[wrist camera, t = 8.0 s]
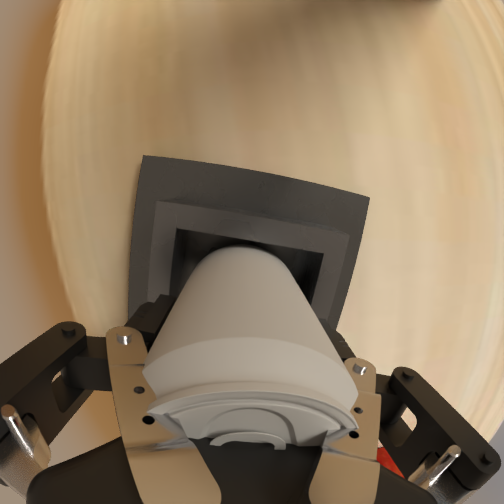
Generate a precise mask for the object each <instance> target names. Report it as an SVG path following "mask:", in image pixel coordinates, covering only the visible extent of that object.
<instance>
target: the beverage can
mask: <svg viewBox="0 0 504 504" xmlns="http://www.w3.org/2000/svg"><path fill="white" fill-rule="evenodd" d="M143 364H145V366H144V368H143V370H142V373H143V375H144V377H145V379H146V381H147V382H148V384H149V385H150V387H151V388H152V390H153V391H154V393H155V395H156V398H157V400H155V401H154V402H152V403H150V404H149V406H148V409H147V413H149V412H150V413H155V414H160V415H162V414H165V413H169V414H170V415H169V416H170V417H173V418H177V419H179V421H180V423H181V425H182V427H183V429H184V431H185V433H186V435H187V437H188V438H194V439H201V438H204V437H208V438H214V439H213V440H212V441H211V442H210V445H215V446H221V445H222V444H224V443H226V442H230V441H243V442H258V443H272V444H273V445H274V446H275V448H274V450H285V449H286V443H292V444H294V445H296V446H320V443H321V441H322V440H323V438H324V436H325V434H326V433H327V431H328V430H335V429H340V426H345V428H359V427H358V424H357V422H356V420H355V418H354V416H353V415H352V414H351V412H350V410H351V408H352V406H353V405H354V403H355V401H356V399H357V397H358V391H357V388H356V386H355V383H354V381H353V379H352V378H351V376H350V374H349V372H348V371H347V369H346V367H345V365H344V363H343V362H342V360H341V358H340V356H339V355H338V353H337V351H336V349H335V348H334V346H333V344H332V342H331V341H330V339H329V337H328V336H327V334H326V332H325V330H324V329H323V327H322V325H321V323H320V322H319V320H318V318H317V317H316V315H315V313H314V311H313V310H312V308H311V306H310V305H309V303H308V301H307V300H306V298H305V296H304V295H303V293H302V291H301V289H300V288H299V286H298V284H297V283H296V281H295V279H294V278H293V276H292V274H291V273H290V271H289V270H288V268H287V267H286V265H285V264H284V263H283V262H282V261H281V260H280V259H279V258H278V257H277V256H275V255H274V254H272V253H271V252H269V251H267V250H265V249H263V248H260V247H257V246H252V245H245V244H240V245H230V246H226V247H222V248H220V249H218V250H215V251H213V252H212V253H210V254H209V255H207V256H206V257H205V258H203V259H202V260H201V261H200V262H199V263H198V265H197V266H196V267H195V269H194V270H193V272H192V274H191V275H190V277H189V279H188V281H187V282H186V284H185V286H184V288H183V290H182V291H181V293H180V295H179V297H178V299H177V300H176V302H175V304H174V306H173V308H172V310H171V311H170V313H169V315H168V317H167V319H166V321H165V323H164V324H163V326H162V328H161V330H160V332H159V334H158V336H157V338H156V340H155V341H154V343H153V345H152V347H151V349H150V351H149V353H148V355H147V357H146V359H145V361H144V363H143Z"/></svg>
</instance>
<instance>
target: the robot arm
mask: <svg viewBox="0 0 504 504" xmlns="http://www.w3.org/2000/svg"><path fill="white" fill-rule="evenodd" d="M175 302H176V297H174V296H169V295H164V294H160V295H159V297H158V298H157V300H156V301H155V302H154V303H153V302H146V303H144V304H142V305H140V306H139V308H138V309H137V310H136V312H135V313H134V314H133V316H132V317H131V318H130V319H129V320H128V322H127V323H126V324H125V326H124V327H123V326H121V327H115V328H112V329H110V330H109V331H108V332H107V333H106V337H92V336H86V329H85V327H84V326H83V325H81V324H79V323H77V322H61V323H58V324H57V325H55V326H53V327H52V328H50V329H49V330H48V331H46V332H45V333H43V334H42V335H40V336H39V337H37V338H36V339H35V340H33V341H32V342H30V343H29V344H27V345H26V346H25V347H23V348H22V349H20V350H19V351H18V352H16V353H15V354H13V355H12V356H11V357H9V358H8V359H7V360H5V361H4V362H3V363H1V364H0V484H2V485H4V486H9V487H10V488H12V489H13V490H14V491H15V492H17V493H18V494H19V495H20V496H21V497H23V498H24V499H25V500H26V504H462V503H463V502H465V501H466V500H467V499H468V498H469V497H471V496H472V495H473V494H474V493H475V492H476V491H477V490H478V489H480V488H481V487H482V486H483V485H484V484H485V483H486V482H487V481H488V480H489V479H490V478H491V477H492V476H493V475H494V474H495V473H496V472H497V471H498V470H499V468H500V466H501V459H500V456H499V455H498V453H497V452H496V451H495V450H494V449H493V448H492V447H491V446H490V445H489V444H488V442H487V441H486V440H485V439H484V438H483V437H482V436H481V435H480V434H479V433H478V432H477V431H476V430H475V429H474V428H473V427H472V426H471V425H470V424H469V423H468V422H467V421H466V420H465V419H464V418H463V417H462V416H461V415H460V414H459V413H458V412H457V411H456V410H455V409H454V408H453V407H452V406H451V405H450V404H449V403H448V402H447V401H446V400H445V399H444V398H443V397H442V396H441V395H440V394H439V393H438V392H437V391H436V390H435V389H434V388H433V387H432V386H431V385H430V384H429V383H428V382H427V381H426V380H424V379H423V378H422V377H421V376H420V375H419V374H418V373H417V372H416V371H414V370H412V369H410V368H407V367H397V368H395V369H394V371H393V373H392V375H391V376H387V375H381V374H376V368H375V367H374V365H373V364H371V363H370V362H368V361H366V360H364V359H360V358H356V356H355V355H354V353H353V352H352V350H351V349H350V347H348V344H347V343H346V342H345V340H344V338H343V337H342V335H341V334H339V333H338V332H337V331H335V330H334V329H332V328H331V327H330V325H329V324H328V322H327V321H326V319H320V318H318V320H319V322H320V323H321V325H322V327H323V329H324V330H325V332H326V334H327V336H328V337H329V339H330V341H331V342H332V344H333V346H334V348H335V349H336V351H337V353H338V355H339V356H340V358H341V360H342V362H343V363H344V365H345V367H346V369H347V371H348V372H349V374H350V376H351V378H352V379H353V381H354V383H355V386H356V388H357V391H358V397H357V399H356V401H355V403H354V405H353V406H352V408H351V410H350V412H351V414H352V415H353V416H354V418H355V420H356V422H357V424H358V427H359V428H345V426H340V429H335V430H328V431H327V433H326V434H325V436H324V438H323V440H322V441H321V443H320V446H296V445H294V444H292V443H286V449H285V450H274V448H275V446H274V445H273V444H272V443H258V442H243V441H230V442H226V443H224V444H222V445H221V446H215V445H210V442H211V441H212V440H213V439H214V438H208V437H204V438H201V439H194V438H188V437H187V435H186V433H185V431H184V429H183V427H182V425H181V423H180V421H179V419H177V418H173V417H170V416H169V415H170V414H169V413H165V414H162V415H160V414H155V413H150V412H149V413H147V409H148V406H149V404H150V403H152V402H154V401H155V400H157V398H156V395H155V393H154V391H153V390H152V388H151V387H150V385H149V384H148V382H147V381H146V379H145V377H144V375H143V373H142V370H143V368H144V366H145V364H143V363H144V361H145V359H146V357H147V355H148V353H149V351H150V349H151V347H152V345H153V343H154V341H155V340H156V338H157V336H158V334H159V332H160V330H161V328H162V326H163V324H164V323H165V321H166V319H167V317H168V315H169V313H170V311H171V310H172V308H173V306H174V304H175ZM59 371H61V375H60V376H59V377H58V378H57V379H56V380H55V381H54V382H52V380H53V378H54V376H55V375H56V374H57V373H58V372H59ZM94 390H100V391H112V393H113V399H114V404H115V410H116V414H117V419H118V424H119V428H120V432H121V436H120V437H118V438H116V439H114V440H112V441H110V442H108V443H106V444H104V445H102V446H99V447H97V448H95V449H93V450H90V451H88V452H86V453H84V454H81V455H79V456H76V457H74V458H72V459H69V460H67V461H64V462H62V463H59V464H56V465H54V466H51V467H48V463H49V461H50V458H51V451H50V448H49V444H50V443H51V442H52V441H53V440H54V438H55V437H56V436H57V435H58V433H59V432H60V431H61V430H62V429H63V427H64V426H65V425H66V424H67V422H68V421H69V420H70V419H71V418H72V416H73V415H74V414H75V413H76V412H77V410H78V409H79V408H80V407H81V405H82V404H83V403H84V402H85V401H86V399H87V398H88V397H89V396H90V395H91V394H92V392H93V391H94ZM407 407H408V408H409V409H410V410H411V411H412V413H413V414H414V415H415V416H416V419H417V425H416V427H415V429H414V430H413V431H412V430H411V429H410V428H409V427H408V425H407V424H406V423H405V422H404V420H403V419H402V418H401V416H402V414H403V412H404V411H405V409H406V408H407ZM378 439H379V440H380V442H381V443H382V445H383V446H384V448H385V449H386V451H387V452H388V454H389V455H390V457H391V458H392V460H393V461H394V463H395V464H396V466H397V467H398V469H399V470H400V472H401V473H402V475H403V476H404V478H403V477H401V476H400V475H398V474H396V473H394V472H393V471H391V470H389V469H388V468H386V467H384V466H383V465H381V464H380V463H379V462H378V461H377V459H376V456H377V448H378Z"/></svg>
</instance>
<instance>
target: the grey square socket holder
mask: <svg viewBox="0 0 504 504" xmlns="http://www.w3.org/2000/svg"><path fill="white" fill-rule="evenodd" d="M369 200H370V197H366V196H363V195H359V194H356V193H352V192H348V191H344V190H340V189H337V188H333V187H329V186H324V185H320V184H316V183H312V182H308V181H303V180H299V179H294V178H289V177H285V176H280V175H275V174H270V173H265V172H260V171H254V170H249V169H243V168H237V167H231V166H225V165H219V164H212V163H205V162H198V161H191V160H183V159H175V158H166V157H156V156H146V155H143V159H142V164H141V170H140V176H139V182H138V189H137V196H136V203H135V211H134V220H133V230H132V240H131V253H130V269H129V296H128V320H129V319H130V318H131V317H132V316H133V314H134V313H135V312H136V310H137V309H138V308H139V306H140V305H142V304H144V303H146V302H153V303H154V302H155V301H156V300H157V298H158V297H159V295H160V294H164V295H169V296H174V297H176V300H177V299H178V297H179V295H180V293H181V291H182V290H183V288H184V286H185V284H186V282H187V281H188V279H189V277H190V275H191V274H192V272H193V270H194V269H195V267H196V266H197V265H198V263H199V262H200V261H201V260H202V259H203V258H205V257H206V256H207V255H209V254H210V253H212V252H213V251H215V250H218V249H220V248H222V247H226V246H230V245H240V244H245V245H252V246H257V247H260V248H263V249H265V250H267V251H269V252H271V253H272V254H274V255H275V256H277V257H278V258H279V259H280V260H281V261H282V262H283V263H284V264H285V265H286V267H287V268H288V270H289V271H290V273H291V274H292V276H293V278H294V279H295V281H296V283H297V284H298V286H299V288H300V289H301V291H302V293H303V295H304V296H305V298H306V300H307V301H308V303H309V305H310V306H311V308H312V310H313V311H314V313H315V315H316V317H317V318H320V319H326V321H327V322H328V324H329V325H330V327H331V328H332V329H334V330H335V331H336V328H337V325H338V322H339V318H340V315H341V312H342V309H343V306H344V302H345V299H346V296H347V292H348V289H349V285H350V282H351V278H352V274H353V270H354V267H355V263H356V259H357V255H358V251H359V247H360V242H361V238H362V234H363V229H364V225H365V220H366V215H367V210H368V205H369Z"/></svg>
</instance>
